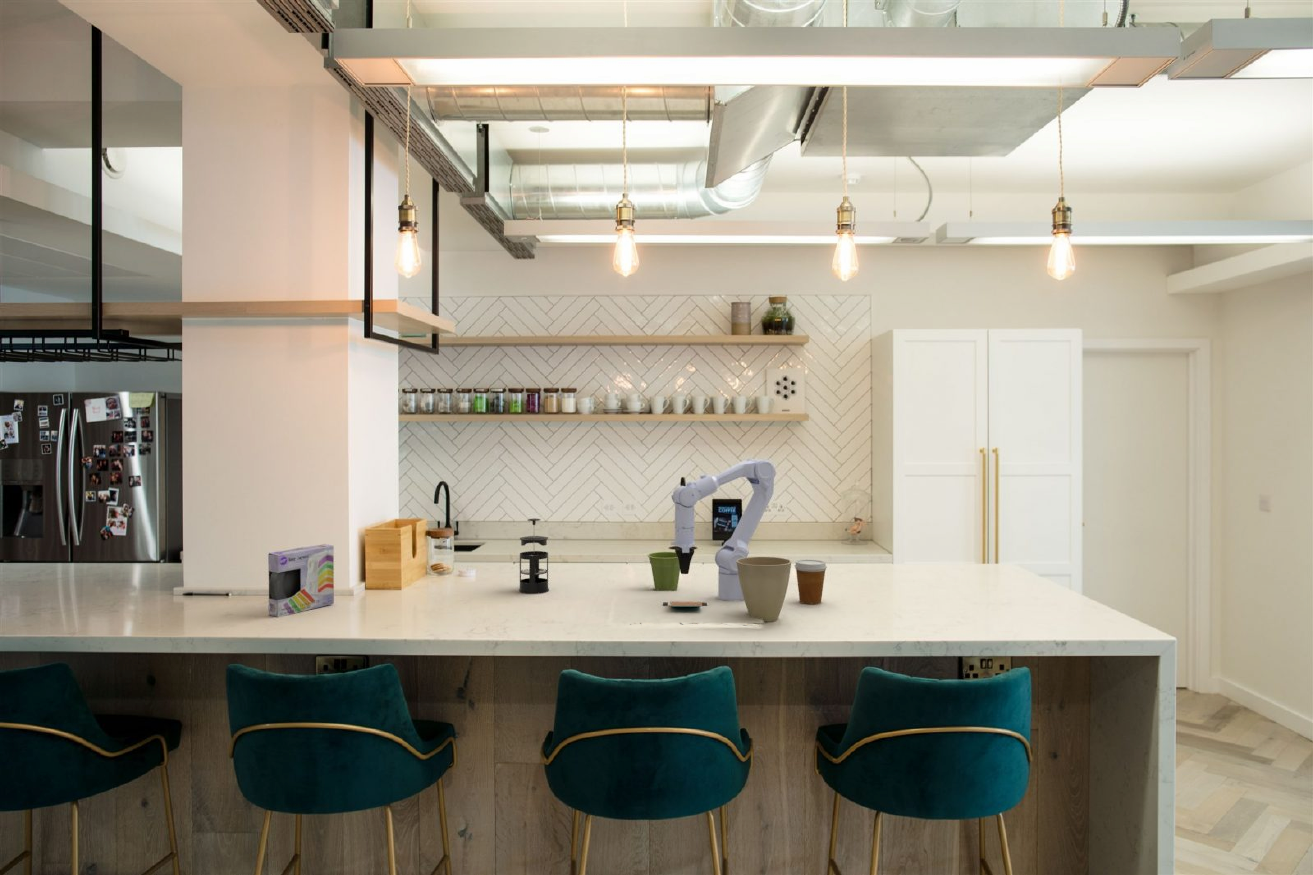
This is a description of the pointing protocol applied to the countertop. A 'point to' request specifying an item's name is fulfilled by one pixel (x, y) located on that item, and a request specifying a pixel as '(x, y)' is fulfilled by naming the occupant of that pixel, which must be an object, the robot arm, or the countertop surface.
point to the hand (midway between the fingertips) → (684, 573)
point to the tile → (685, 603)
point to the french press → (534, 565)
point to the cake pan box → (300, 579)
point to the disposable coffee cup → (810, 580)
